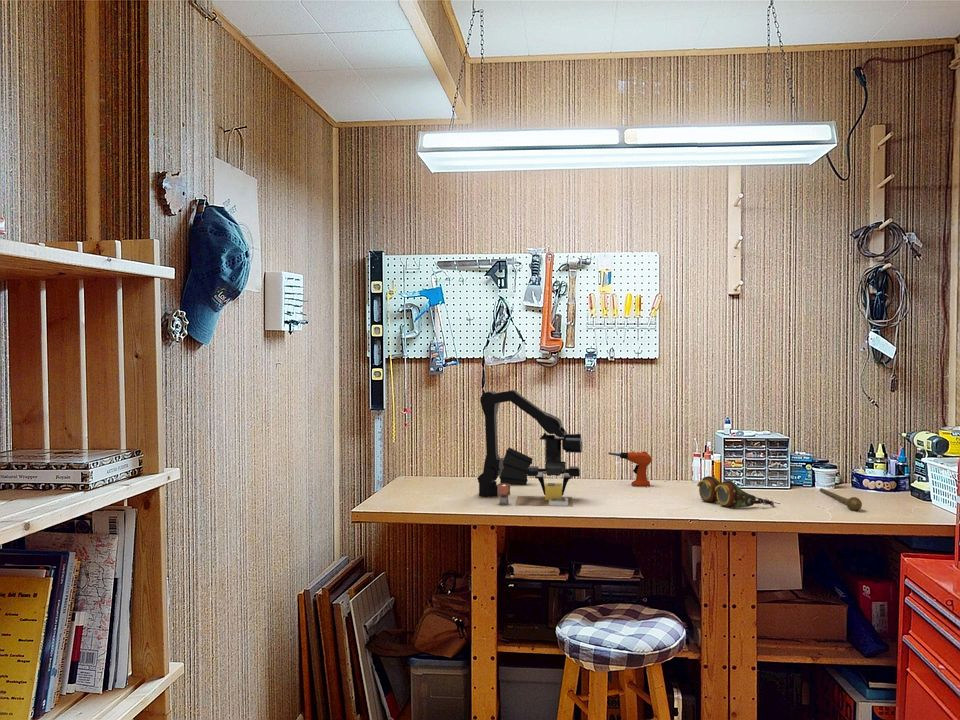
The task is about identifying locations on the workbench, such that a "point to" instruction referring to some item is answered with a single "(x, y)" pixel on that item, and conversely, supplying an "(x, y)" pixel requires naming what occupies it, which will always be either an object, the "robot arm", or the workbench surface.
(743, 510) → the workbench surface
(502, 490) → the copper and grey cylinder
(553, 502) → the frame
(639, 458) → the toy drill
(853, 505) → the ball headed mace
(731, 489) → the goggles
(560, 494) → the block
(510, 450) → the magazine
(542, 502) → the plywood board
